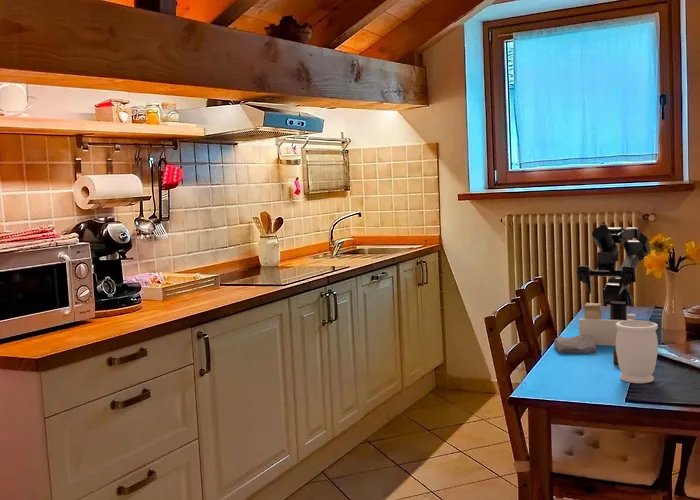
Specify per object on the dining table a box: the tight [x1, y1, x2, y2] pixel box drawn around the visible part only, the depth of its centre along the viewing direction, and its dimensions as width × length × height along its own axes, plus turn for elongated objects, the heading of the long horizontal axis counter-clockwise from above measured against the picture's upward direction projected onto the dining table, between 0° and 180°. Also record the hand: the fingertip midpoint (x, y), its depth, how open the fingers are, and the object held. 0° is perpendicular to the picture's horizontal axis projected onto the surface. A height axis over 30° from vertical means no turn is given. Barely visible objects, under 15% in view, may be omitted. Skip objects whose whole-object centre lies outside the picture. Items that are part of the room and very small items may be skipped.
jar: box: [615, 319, 659, 384], centre depth 194 cm, size 11×10×15 cm
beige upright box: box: [578, 317, 626, 347], centre depth 234 cm, size 3×14×8 cm, turn 64°
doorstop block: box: [583, 302, 602, 319], centre depth 239 cm, size 4×4×12 cm
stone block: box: [553, 335, 597, 355], centre depth 229 cm, size 12×5×10 cm
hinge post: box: [627, 313, 637, 320], centre depth 230 cm, size 2×2×10 cm
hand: (604, 294), depth 247 cm, fingers open, 9 cm apart
